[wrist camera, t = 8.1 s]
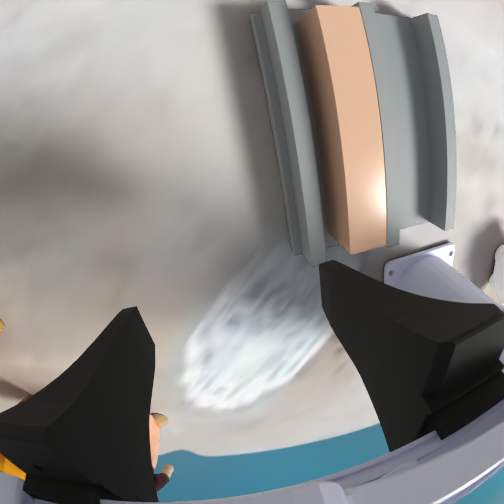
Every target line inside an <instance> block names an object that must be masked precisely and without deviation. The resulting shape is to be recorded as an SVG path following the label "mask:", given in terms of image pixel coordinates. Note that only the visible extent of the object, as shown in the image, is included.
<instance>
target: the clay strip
mask: <svg viewBox="0 0 504 504" xmlns="http://www.w3.org/2000/svg"><path fill="white" fill-rule="evenodd" d="M296 25H297V29H298V34H299V38H300V43H301V47H302V52H303V57H304V62H305V67H306V72H307V77H308V83H309V88H310V94H311V100H312V105H313V111H314V118H315V124H316V130H317V137H318V144H319V151H320V159H321V167H322V175H323V183H324V192H325V201H326V211H327V222H328V233H329V234H330V235H331V236H332V237H333V238H334V239H335V240H336V241H337V242H338V243H339V244H340V245H341V246H342V247H343V248H344V249H345V250H346V251H347V252H348V253H349V254H350V255H352V254H356V253H360V252H364V251H367V250H371V249H375V248H379V247H382V246H386V185H385V167H384V153H383V141H382V131H381V122H380V114H379V106H378V99H377V92H376V85H375V79H374V73H373V68H372V62H371V57H370V52H369V47H368V42H367V38H366V33H365V29H364V25H363V21H362V17H361V13H360V9H359V7H351V6H333V5H315V6H314V7H313V8H312V9H311V10H309V11H308V12H307V13H306V14H305V15H304V16H303V17H302V18H301V19H299V20H298V21H297V22H296Z"/></svg>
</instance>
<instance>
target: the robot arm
mask: <svg viewBox="0 0 504 504" xmlns="http://www.w3.org/2000/svg"><path fill="white" fill-rule="evenodd" d="M454 251H455V245H454V244H453V243H452V242H450V243H446V244H443V245H440V246H437V247H434V248H431V249H428V250H424V251H421V252H418V253H415V254H411V255H408V256H405V257H401V258H398V259H395V260H391V261H389V262H387V263H386V264H385V267H384V283H382V282H380V281H377V280H375V279H373V278H371V277H368V276H366V275H364V274H362V273H360V272H358V271H356V270H354V269H352V268H350V267H348V266H346V265H343V264H341V263H339V262H337V261H334V260H332V261H328V262H324V263H320V264H319V272H320V285H321V298H322V307H323V310H324V312H325V314H326V317H327V319H328V321H329V323H330V325H331V327H332V329H333V331H334V332H335V334H336V336H337V337H338V339H339V340H340V342H341V344H342V345H343V347H344V349H345V350H346V352H347V353H348V355H349V357H350V358H351V360H352V361H353V363H354V365H355V366H356V368H357V370H358V372H359V374H360V376H361V378H362V380H363V382H364V385H365V387H366V389H367V391H368V394H369V396H370V398H371V401H372V403H373V406H374V408H375V411H376V413H377V416H378V419H379V421H380V424H381V427H382V429H383V432H384V435H385V438H386V442H387V445H388V448H389V451H390V453H387V454H385V455H383V456H380V457H378V458H376V459H373V460H371V461H368V462H365V463H363V464H360V465H358V466H355V467H352V468H349V469H346V470H344V471H341V472H338V473H335V474H331V475H328V476H325V477H322V478H318V479H315V480H312V481H308V482H304V483H300V484H297V485H293V486H289V487H284V488H280V489H275V490H270V491H265V492H260V493H254V494H249V495H243V496H236V497H228V498H220V499H211V500H200V501H184V502H158V497H157V492H156V487H155V482H154V475H153V468H152V460H151V448H150V430H149V417H150V405H151V397H152V388H153V380H154V372H155V344H154V342H153V340H152V338H151V336H150V334H149V332H148V330H147V328H146V326H145V324H144V321H143V319H142V317H141V315H140V313H139V311H138V308H137V306H136V307H131V308H126V309H123V310H121V311H120V312H119V313H118V314H117V315H116V317H115V318H114V319H113V320H112V321H111V322H110V323H109V325H108V326H107V327H106V328H105V329H104V330H103V332H102V333H101V334H100V335H99V336H98V337H97V339H96V340H95V341H94V342H93V343H92V344H91V345H90V346H89V347H88V348H87V350H86V351H85V352H84V353H83V354H82V355H81V356H80V357H79V358H78V359H77V360H76V361H75V362H74V363H73V364H72V365H71V366H70V367H69V368H68V369H67V370H66V371H64V372H63V373H62V374H61V375H60V376H59V377H57V378H56V379H55V380H53V381H52V382H51V383H50V384H48V385H47V386H46V387H45V388H43V389H42V390H40V391H39V392H37V393H36V394H34V395H33V396H31V397H30V398H28V399H26V400H25V401H23V402H21V403H19V404H18V405H16V406H14V407H12V408H10V409H8V410H6V411H4V412H1V413H0V453H1V454H2V455H3V456H4V457H5V458H7V459H8V460H9V461H10V462H11V463H13V464H14V465H15V466H16V467H18V468H19V469H20V470H22V471H23V472H24V473H26V477H25V480H23V479H21V478H19V477H17V476H13V475H10V474H6V473H3V472H0V504H453V503H455V502H457V501H458V500H460V499H461V498H463V497H464V496H466V495H467V494H469V493H470V492H471V491H473V490H474V489H476V488H477V487H478V486H480V485H481V484H482V483H484V482H485V481H486V480H488V479H489V478H490V477H492V476H493V475H494V474H495V473H497V472H498V471H499V470H500V469H501V468H503V467H504V306H503V307H502V306H500V305H498V304H497V303H496V302H495V301H494V300H492V299H491V298H490V297H489V296H488V295H487V294H485V293H484V292H483V291H482V290H481V289H479V288H478V287H477V286H476V285H474V284H473V283H472V282H471V281H469V280H468V279H467V278H466V277H464V276H463V275H462V274H461V273H459V272H458V271H457V270H455V269H454V268H453V267H452V265H453V258H454ZM390 271H391V273H389V272H390Z"/></svg>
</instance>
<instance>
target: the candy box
mask: <svg viewBox="0 0 504 504" xmlns="http://www.w3.org/2000/svg"><path fill="white" fill-rule="evenodd" d="M4 326H5V325H4V323H3V322H2V321H1V320H0V333H1V331H2V329H3V328H4Z"/></svg>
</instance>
